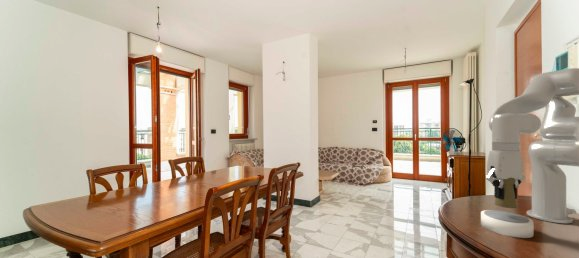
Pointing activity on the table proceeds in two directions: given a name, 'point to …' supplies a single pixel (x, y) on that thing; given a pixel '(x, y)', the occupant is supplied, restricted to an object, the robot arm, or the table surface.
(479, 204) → the table surface
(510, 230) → the podium
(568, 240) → the table surface
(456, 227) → the table surface
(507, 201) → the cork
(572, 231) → the table surface
